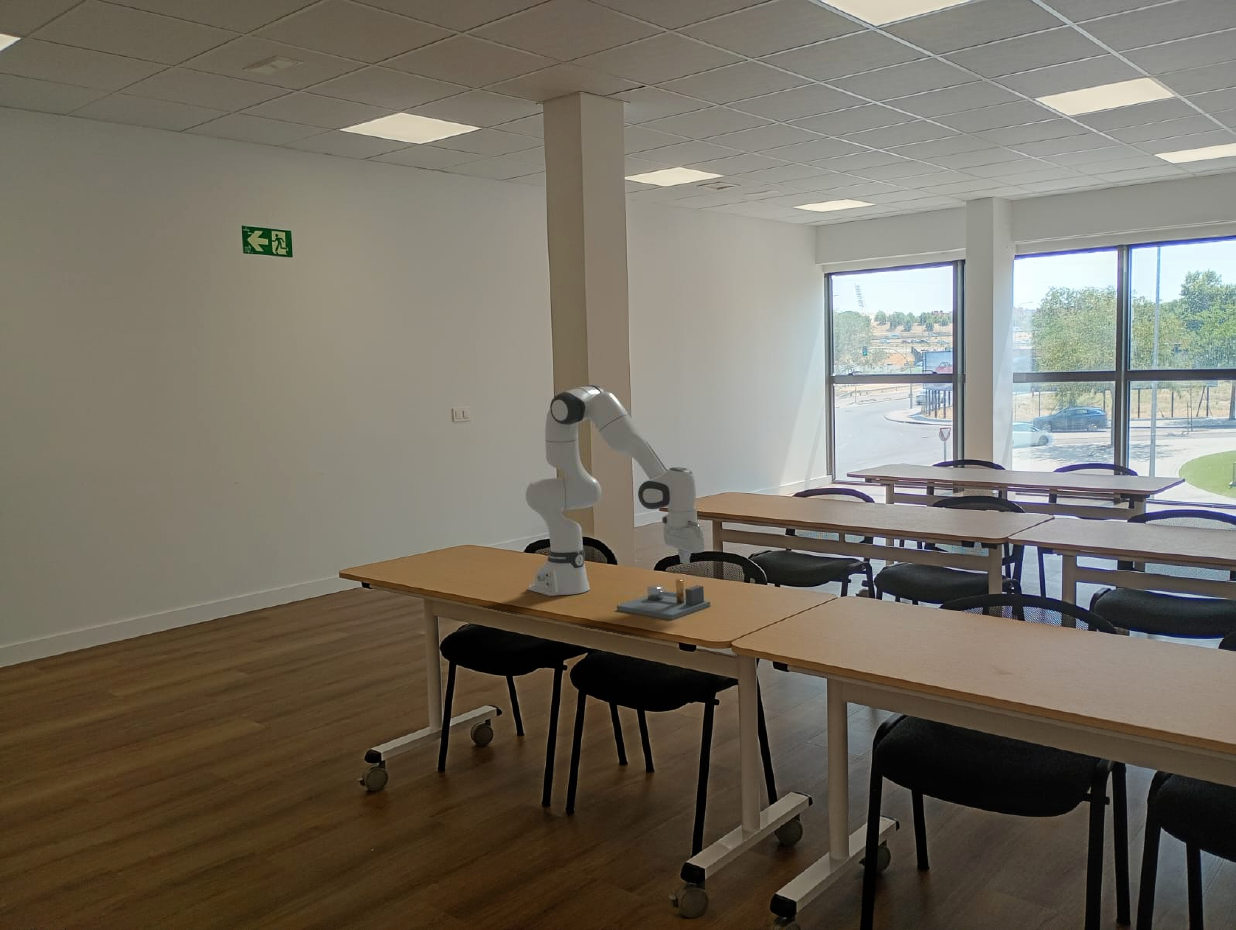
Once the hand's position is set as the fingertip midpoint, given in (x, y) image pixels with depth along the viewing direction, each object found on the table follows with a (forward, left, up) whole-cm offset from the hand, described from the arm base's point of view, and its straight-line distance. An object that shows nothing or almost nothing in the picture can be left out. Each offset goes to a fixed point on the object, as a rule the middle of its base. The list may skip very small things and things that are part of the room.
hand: (685, 563), depth 298 cm
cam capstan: (-5, -4, -12) cm, 13 cm away
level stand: (-4, -7, -13) cm, 15 cm away
